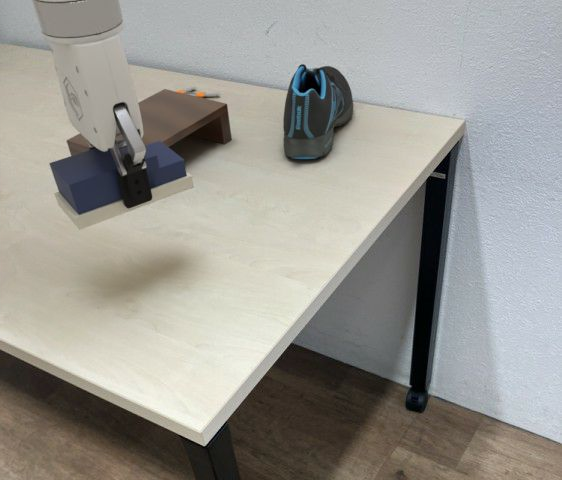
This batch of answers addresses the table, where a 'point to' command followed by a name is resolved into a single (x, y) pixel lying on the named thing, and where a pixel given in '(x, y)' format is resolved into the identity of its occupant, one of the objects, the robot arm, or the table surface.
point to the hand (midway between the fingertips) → (124, 188)
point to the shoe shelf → (174, 120)
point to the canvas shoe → (113, 182)
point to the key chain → (200, 94)
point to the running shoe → (315, 111)
